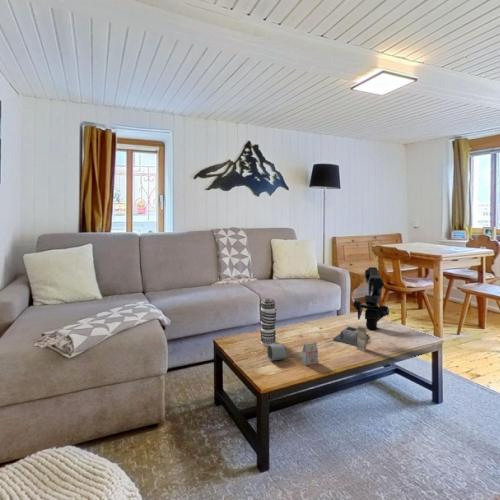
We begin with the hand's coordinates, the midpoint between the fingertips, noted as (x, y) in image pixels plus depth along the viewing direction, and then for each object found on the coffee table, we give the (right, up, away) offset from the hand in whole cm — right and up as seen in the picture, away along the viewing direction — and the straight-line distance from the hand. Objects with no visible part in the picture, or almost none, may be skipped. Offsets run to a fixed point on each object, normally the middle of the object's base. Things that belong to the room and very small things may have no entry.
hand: (366, 321), depth 180 cm
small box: (-35, -16, -20) cm, 43 cm away
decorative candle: (-54, -13, +5) cm, 56 cm away
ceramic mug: (-51, -16, -14) cm, 55 cm away
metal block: (-4, -14, -4) cm, 15 cm away
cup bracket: (-5, -12, +10) cm, 17 cm away
